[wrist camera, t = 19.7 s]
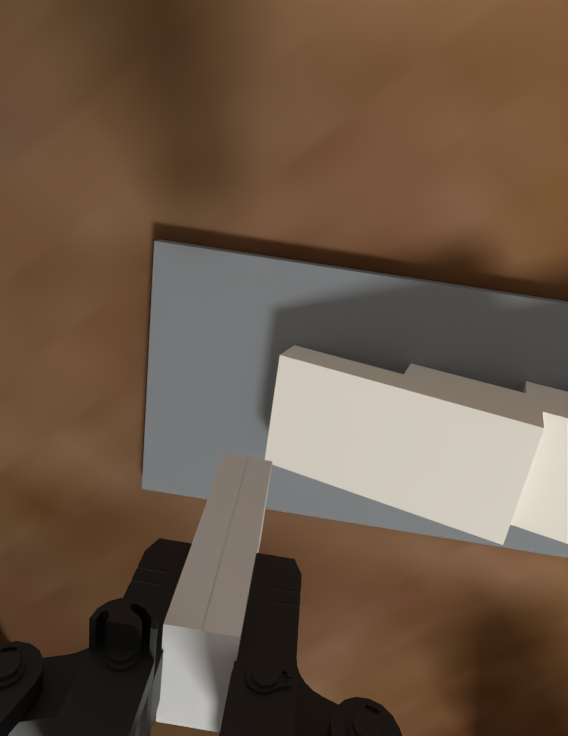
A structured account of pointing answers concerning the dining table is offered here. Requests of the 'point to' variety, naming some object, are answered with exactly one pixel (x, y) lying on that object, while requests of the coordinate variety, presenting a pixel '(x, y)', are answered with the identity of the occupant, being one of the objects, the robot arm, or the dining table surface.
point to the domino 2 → (549, 466)
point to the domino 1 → (403, 440)
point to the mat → (327, 335)
